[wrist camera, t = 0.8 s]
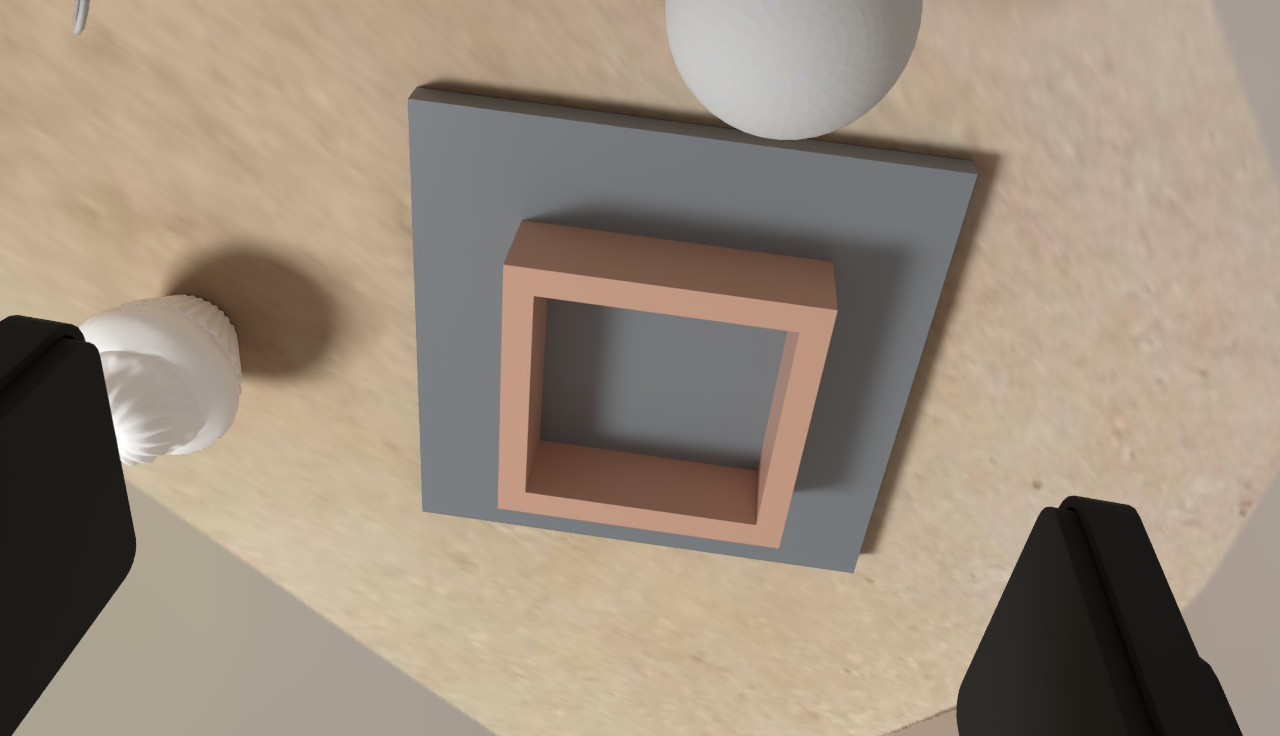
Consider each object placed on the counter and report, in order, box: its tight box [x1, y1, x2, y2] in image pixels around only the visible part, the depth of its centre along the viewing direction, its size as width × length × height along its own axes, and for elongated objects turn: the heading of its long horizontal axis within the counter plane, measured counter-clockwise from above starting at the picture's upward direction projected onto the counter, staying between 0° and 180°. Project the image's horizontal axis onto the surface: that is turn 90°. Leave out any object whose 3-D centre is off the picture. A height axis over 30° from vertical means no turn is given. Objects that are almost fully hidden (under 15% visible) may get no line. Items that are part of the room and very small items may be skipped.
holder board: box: [408, 87, 978, 573], centre depth 37 cm, size 18×18×4 cm
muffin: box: [79, 294, 243, 466], centre depth 38 cm, size 6×6×7 cm
